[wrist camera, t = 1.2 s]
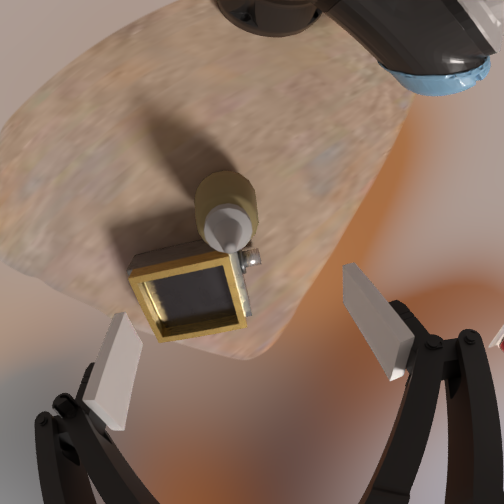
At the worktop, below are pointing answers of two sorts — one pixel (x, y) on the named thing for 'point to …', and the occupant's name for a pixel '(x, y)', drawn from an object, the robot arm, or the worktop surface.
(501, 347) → the soda can
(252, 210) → the squeeze bottle
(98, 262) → the worktop surface
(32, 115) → the worktop surface
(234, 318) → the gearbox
